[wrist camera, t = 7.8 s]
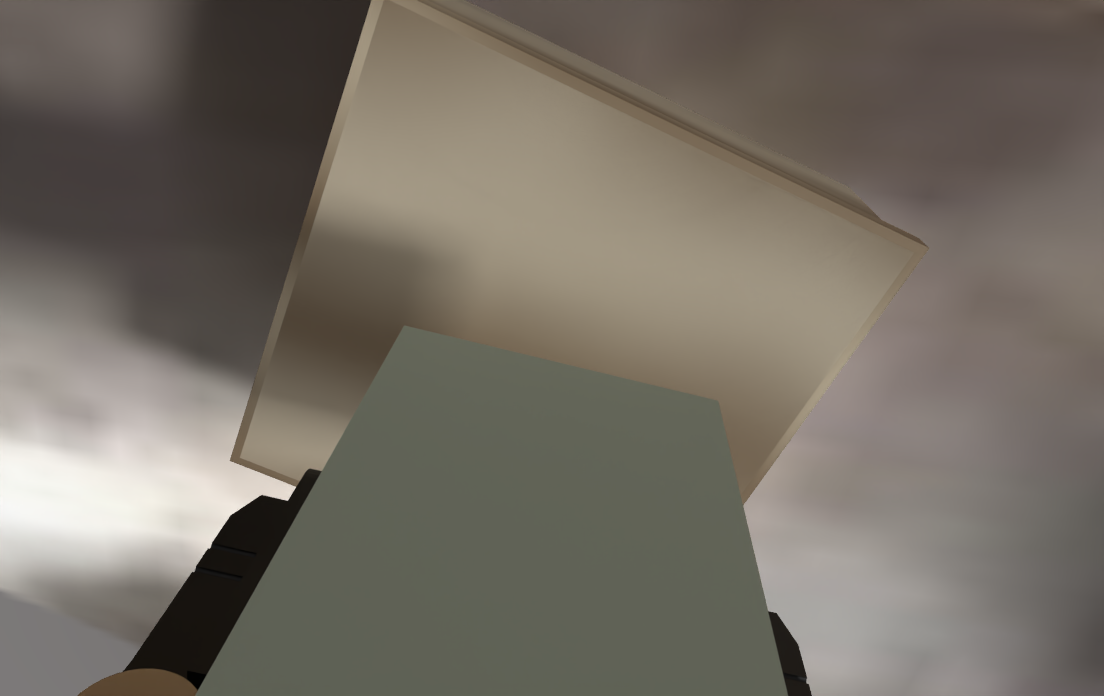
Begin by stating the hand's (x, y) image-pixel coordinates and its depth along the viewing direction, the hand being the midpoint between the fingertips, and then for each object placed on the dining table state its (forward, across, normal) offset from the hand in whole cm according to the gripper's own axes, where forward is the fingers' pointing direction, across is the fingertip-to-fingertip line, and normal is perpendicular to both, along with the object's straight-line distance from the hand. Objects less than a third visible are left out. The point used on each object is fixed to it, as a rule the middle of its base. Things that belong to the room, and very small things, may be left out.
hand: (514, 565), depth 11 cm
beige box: (+11, 0, 0) cm, 11 cm away
